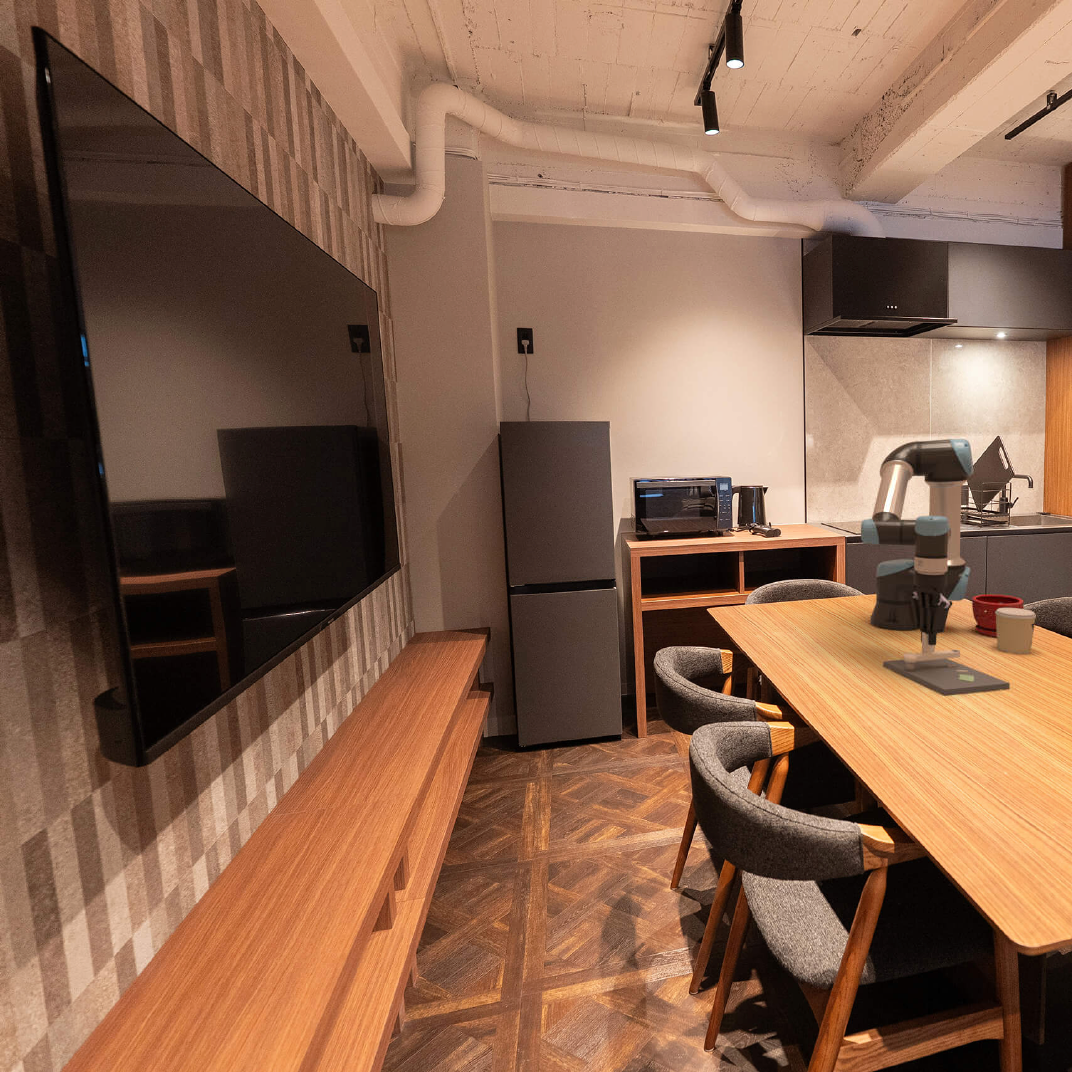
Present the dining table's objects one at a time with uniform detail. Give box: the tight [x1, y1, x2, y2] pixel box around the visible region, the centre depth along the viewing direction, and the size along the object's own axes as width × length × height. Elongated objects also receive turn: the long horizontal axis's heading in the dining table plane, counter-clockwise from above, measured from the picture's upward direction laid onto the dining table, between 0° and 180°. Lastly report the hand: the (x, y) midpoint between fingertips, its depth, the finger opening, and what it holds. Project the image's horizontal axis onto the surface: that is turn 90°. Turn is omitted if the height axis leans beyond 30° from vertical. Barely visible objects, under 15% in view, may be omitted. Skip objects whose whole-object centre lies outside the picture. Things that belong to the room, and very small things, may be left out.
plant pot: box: [971, 594, 1024, 638], centre depth 188 cm, size 13×13×12 cm
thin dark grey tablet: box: [882, 658, 1011, 696], centre depth 156 cm, size 22×18×4 cm
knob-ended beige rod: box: [903, 649, 961, 663], centre depth 158 cm, size 16×3×2 cm, turn 96°
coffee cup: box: [995, 608, 1037, 655], centre depth 173 cm, size 9×9×12 cm
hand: (928, 654), depth 160 cm, fingers closed
